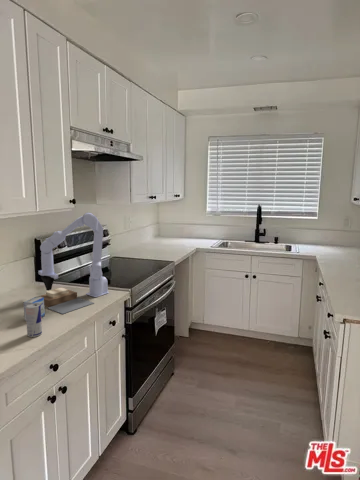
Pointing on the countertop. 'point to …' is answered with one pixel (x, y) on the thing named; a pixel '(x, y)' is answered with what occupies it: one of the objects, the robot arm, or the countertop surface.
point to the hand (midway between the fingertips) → (48, 289)
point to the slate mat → (70, 305)
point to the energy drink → (33, 320)
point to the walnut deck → (58, 298)
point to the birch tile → (57, 292)
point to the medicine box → (35, 300)
